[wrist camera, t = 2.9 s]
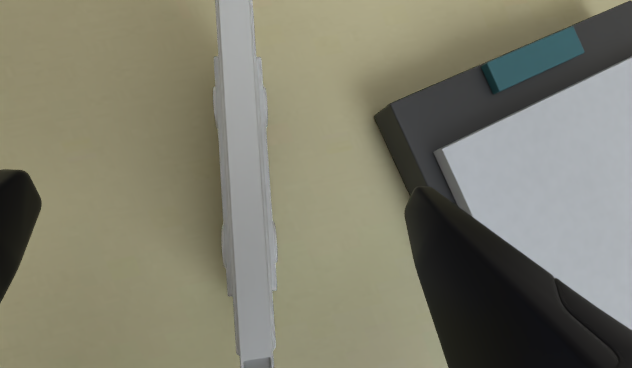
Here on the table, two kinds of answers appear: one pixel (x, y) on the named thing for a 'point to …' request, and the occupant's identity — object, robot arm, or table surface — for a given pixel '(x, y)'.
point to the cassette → (245, 183)
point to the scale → (537, 152)
